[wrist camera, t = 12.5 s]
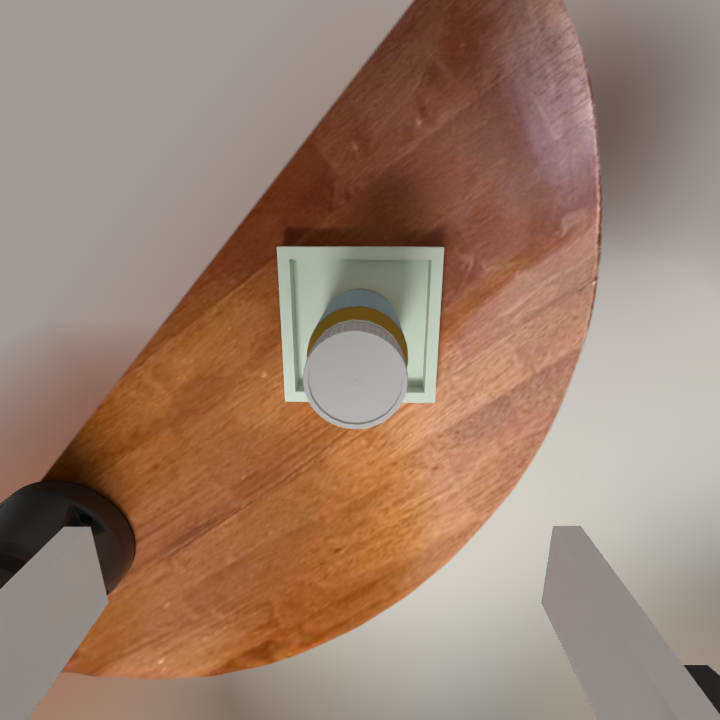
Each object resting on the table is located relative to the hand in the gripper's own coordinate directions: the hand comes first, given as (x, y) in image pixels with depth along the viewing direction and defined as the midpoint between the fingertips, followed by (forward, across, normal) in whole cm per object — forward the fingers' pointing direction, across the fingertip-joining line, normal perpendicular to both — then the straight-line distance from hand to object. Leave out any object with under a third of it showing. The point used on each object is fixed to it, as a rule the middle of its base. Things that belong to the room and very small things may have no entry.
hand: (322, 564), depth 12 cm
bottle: (+28, +1, +1) cm, 28 cm away
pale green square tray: (+29, +1, +1) cm, 29 cm away
